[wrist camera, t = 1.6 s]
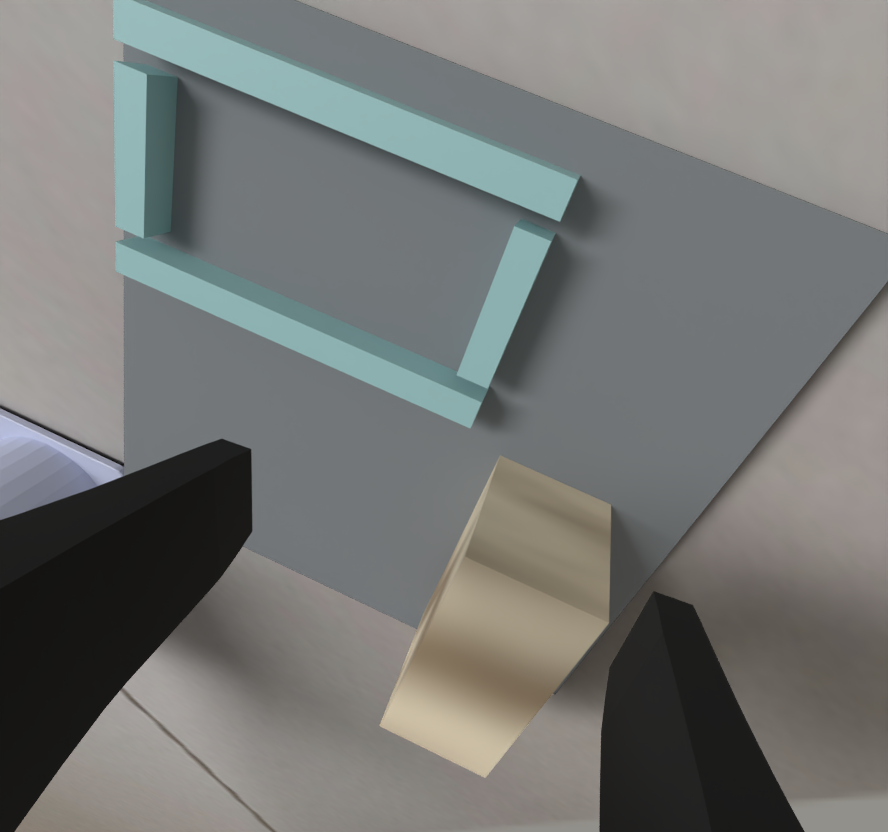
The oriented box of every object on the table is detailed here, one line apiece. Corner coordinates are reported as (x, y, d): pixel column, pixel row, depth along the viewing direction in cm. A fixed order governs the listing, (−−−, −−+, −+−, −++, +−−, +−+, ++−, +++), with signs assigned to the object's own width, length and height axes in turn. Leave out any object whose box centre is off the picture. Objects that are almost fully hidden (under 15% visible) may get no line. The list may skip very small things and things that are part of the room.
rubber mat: (556, 681, 24) (555, 694, 23) (134, 482, 25) (124, 490, 25) (905, 240, 13) (916, 245, 13) (140, -61, 15) (123, -67, 14)
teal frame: (479, 410, 18) (470, 428, 17) (142, 263, 19) (115, 271, 18) (580, 175, 14) (577, 179, 13) (147, 1, 15) (113, -8, 14)
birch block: (509, 655, 23) (485, 778, 19) (422, 614, 23) (379, 725, 19) (611, 504, 18) (608, 622, 14) (500, 455, 18) (464, 556, 14)
